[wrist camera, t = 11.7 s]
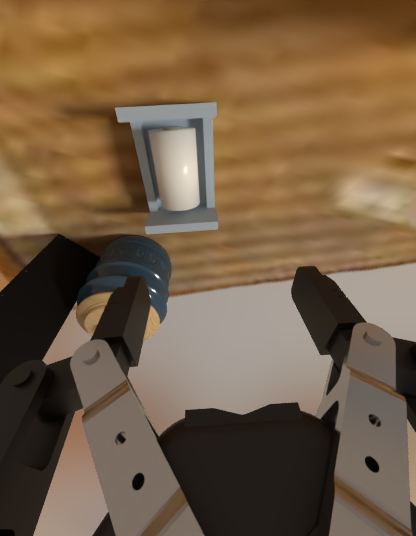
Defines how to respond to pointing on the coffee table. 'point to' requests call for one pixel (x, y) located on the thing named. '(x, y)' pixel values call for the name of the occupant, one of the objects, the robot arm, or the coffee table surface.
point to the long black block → (41, 301)
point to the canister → (115, 274)
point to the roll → (176, 167)
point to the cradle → (140, 125)
